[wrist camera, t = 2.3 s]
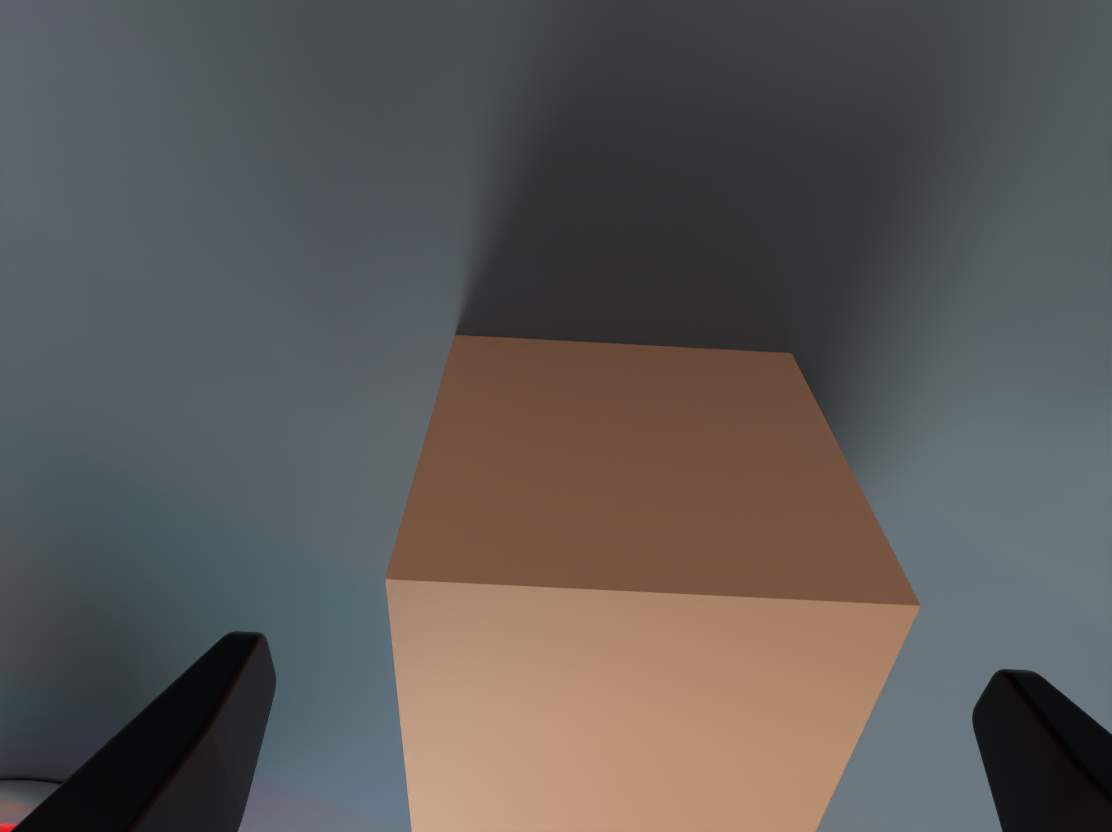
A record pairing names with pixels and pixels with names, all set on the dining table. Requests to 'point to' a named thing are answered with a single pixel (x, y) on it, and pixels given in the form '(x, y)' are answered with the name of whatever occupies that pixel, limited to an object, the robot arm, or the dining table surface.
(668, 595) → the terracotta cube
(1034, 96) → the dining table surface
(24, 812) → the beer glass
